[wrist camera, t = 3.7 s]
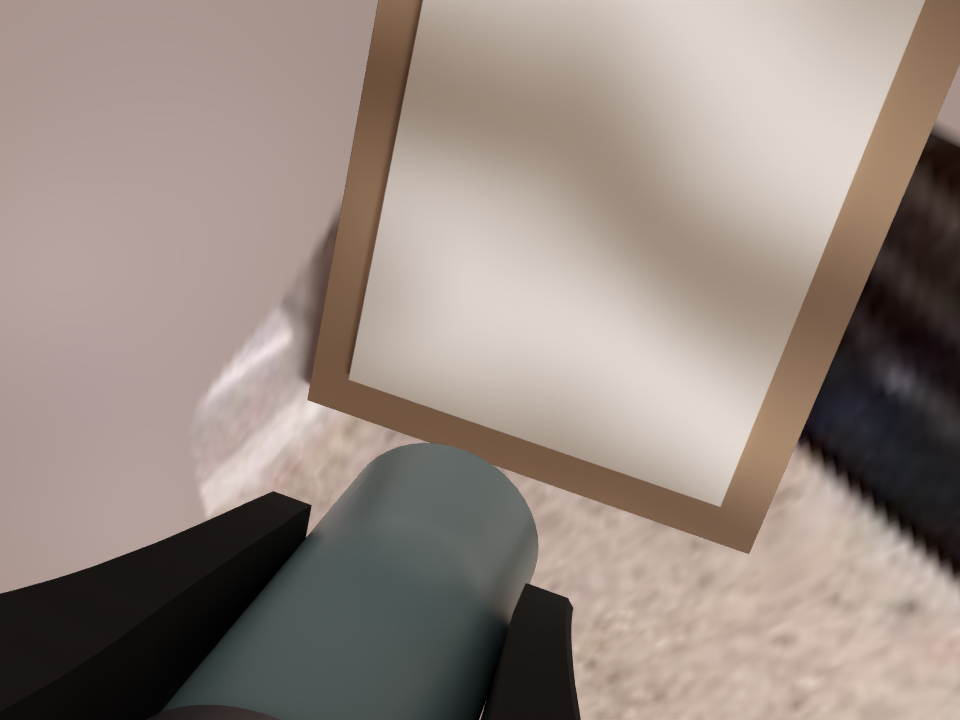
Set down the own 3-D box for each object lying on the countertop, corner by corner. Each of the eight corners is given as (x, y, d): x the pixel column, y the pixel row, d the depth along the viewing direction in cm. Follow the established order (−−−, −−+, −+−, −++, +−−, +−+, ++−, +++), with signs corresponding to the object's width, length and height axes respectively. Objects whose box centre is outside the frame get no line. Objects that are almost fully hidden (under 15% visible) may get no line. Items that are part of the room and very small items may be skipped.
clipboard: (749, 540, 21) (749, 566, 20) (317, 391, 23) (298, 407, 22) (1031, -124, 15) (1052, -135, 14) (435, -254, 17) (416, -272, 16)
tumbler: (513, 653, 15) (345, 1126, 8) (325, 580, 15) (33, 974, 9) (571, 481, 13) (421, 892, 7) (361, 407, 14) (48, 728, 8)
